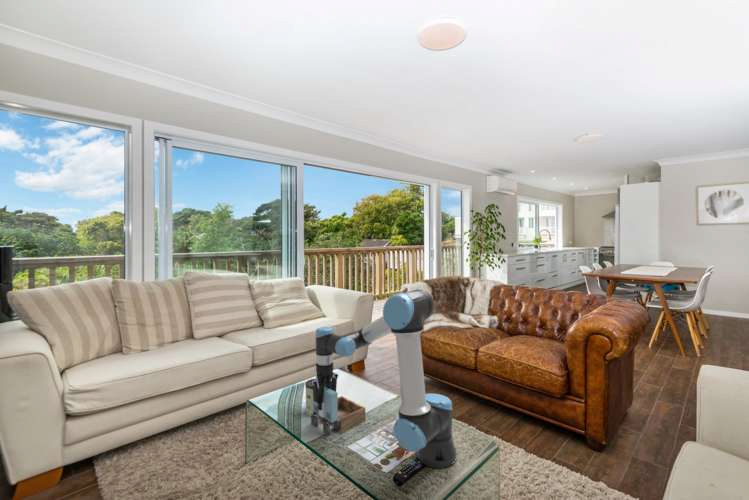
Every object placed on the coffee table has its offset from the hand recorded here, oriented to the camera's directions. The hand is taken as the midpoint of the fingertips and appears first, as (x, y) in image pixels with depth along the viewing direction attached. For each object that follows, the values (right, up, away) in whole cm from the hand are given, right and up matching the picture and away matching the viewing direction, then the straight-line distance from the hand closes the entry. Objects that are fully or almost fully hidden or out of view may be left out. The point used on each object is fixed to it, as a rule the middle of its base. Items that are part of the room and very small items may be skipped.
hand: (325, 414), depth 161 cm
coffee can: (-6, -5, +15) cm, 17 cm away
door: (0, 0, 0) cm, 0 cm away
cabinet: (+5, -5, +5) cm, 9 cm away
